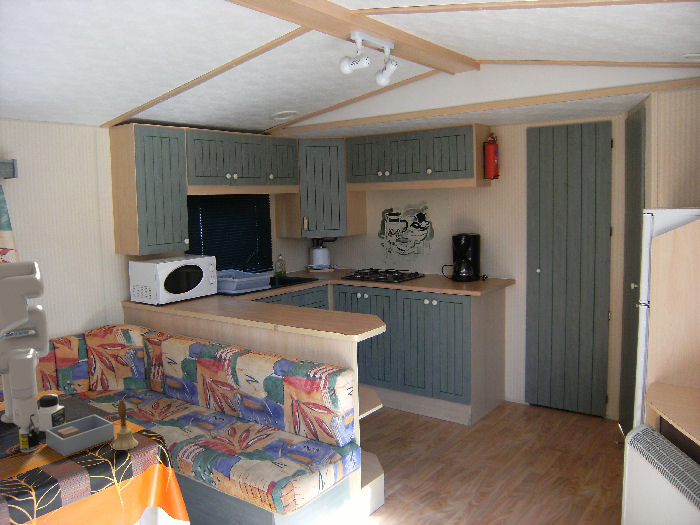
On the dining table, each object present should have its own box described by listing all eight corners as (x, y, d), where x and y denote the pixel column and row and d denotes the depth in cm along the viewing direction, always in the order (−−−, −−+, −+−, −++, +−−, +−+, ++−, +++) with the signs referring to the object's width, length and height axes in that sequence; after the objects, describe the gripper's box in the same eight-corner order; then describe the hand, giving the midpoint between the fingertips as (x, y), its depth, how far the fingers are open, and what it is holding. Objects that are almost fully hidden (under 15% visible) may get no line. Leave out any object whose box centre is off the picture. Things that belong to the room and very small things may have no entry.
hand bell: (112, 453, 194) (109, 406, 192) (111, 443, 202) (108, 398, 200) (139, 448, 198) (136, 402, 195) (137, 438, 205) (134, 394, 203)
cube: (58, 445, 200) (57, 430, 199) (73, 440, 204) (72, 426, 203) (65, 449, 197) (63, 434, 196) (79, 443, 200) (78, 429, 200)
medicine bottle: (53, 432, 212) (50, 400, 210) (35, 431, 213) (32, 398, 212) (66, 424, 219) (63, 393, 217) (49, 423, 220) (46, 392, 219)
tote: (46, 445, 201) (45, 429, 200) (95, 428, 214) (94, 414, 213) (64, 456, 193) (62, 440, 192) (114, 438, 205) (113, 423, 205)
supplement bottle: (20, 454, 195) (17, 425, 193) (20, 448, 199) (18, 420, 198) (38, 450, 197) (36, 422, 196) (38, 444, 202) (36, 416, 201)
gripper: (1, 389, 198) (6, 440, 201) (22, 400, 187) (28, 454, 190) (25, 383, 204) (30, 432, 206) (47, 394, 193) (52, 446, 195)
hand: (29, 442), depth 198 cm, fingers open, 6 cm apart
